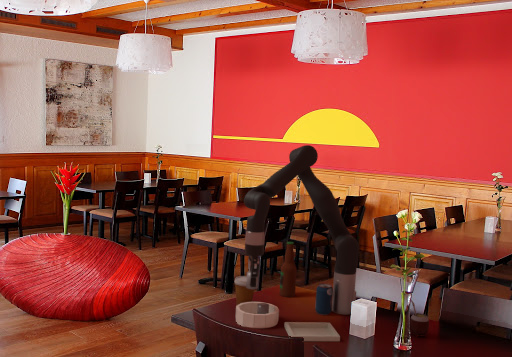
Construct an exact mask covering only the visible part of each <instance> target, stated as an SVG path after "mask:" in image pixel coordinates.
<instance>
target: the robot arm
mask: <svg viewBox="0 0 512 357" xmlns="http://www.w3.org/2000/svg"><path fill="white" fill-rule="evenodd" d="M318 158H319V154H318V151H317V149H316V148H315V147H314V146H312V145H310V144H307V145H305V144H304V145H302V146H300V147H297V148H294V149H292V150H291V151H290V153H289V155H288V159H289V162H288V163H287V164H286V165H285V166H283V167H281V168H280V169H279V170H277V171H275V172H273V174H271V175H270V176H269V177H268V178H267V179H266V180H265V181H264V182H263V183H261V184H259V185H256V186H255V187H252V189H250V190H249V191H248V192H247V193H246V194H245V196H244V199H243V203H244V206H245V207H246V208H248V209H249V210H253V211H255V212H254V214H253V215H250V216H248V217H247V218H246V232H245V238H244V254H245V255H246V256H248V257H247V258H248V260H247V262H248V264H247V266H248V267H247V270H248V271H247V272H249V271H250V272H251V275H250V277H251V280H250V286H251V287H256V278H257V277H258V278H259V275H258V273H259V267H260V259H259V258H258V257H261V256H263V255H264V253H265V224H266V219H267V217H268V213H269V210H270V205H271V198H274V197H276V196H277V195H278V194H279V193H280V192H281V191H282V190H284V188H285V187H286V186H288V185H289V183H291V182H292V181H293V180H294V179H295V178H296V177H298V178H299V180H300V181H301V183H302V185H303V186H304V188H305V190H306V192H307V194H308V196H309V198H310V200H311V202H312V205H313V206H314V208H315V210H316V212H317V214H318V216H319V217H320V218H321V219H320V220H322V222H323V223H324V225H325V226H326V228H327V230H328V232H329V234H330V236H331V239H332V242H333V244H334V248H335V250H336V259H335V260H336V261H335V264H334V269H333V270H334V271H333V273H334V274H333V285H332V286H333V287H332V289H333V296H332V311H331V312H332V313H335V314H337V315H346V316H347V315H351V314H350V312H351V302H352V301H355V300H356V301H357V291H356V279H357V269H358V267H359V266H358V265H359V253H360V245H359V241H358V240H357V239H356V238H355V237H354V236H353V235H352V233H351V232H350V231H349V229H348V227H347V226H346V224H345V221H344V219H343V217H342V213H341V210H340V207H339V204H338V202H337V200H336V198H335V195H334V194H333V192H332V191H331V189H330V188H329V187H328V186H327V185H326V184H325V183H323V182H322V181H321V180H320V179H319V178H318V177H317V176H316V175H315V173H314V172H313V170H312V166H314V165H315V164H316V163H317V161H318ZM253 272H256V274H253Z"/></svg>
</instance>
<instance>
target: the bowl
mask: <svg viewBox="0 0 512 357" xmlns="http://www.w3.org/2000/svg"><path fill="white" fill-rule="evenodd" d="M258 303H264V302H262V301H252V302H245V303H240V304H239V305H237V304H236V306H235V323H236V322H237V323H236V324H237V325H238V326H240V325H241V327H243V328H252V329H268V328H272V327H275V326H276V325H277V324H278V322H279V316H280V314H279V313H280V309H279V308H278V306H276V305H274V304H272V303H267V302H266V303H267V304H269V313H268V314H257V305H258Z"/></svg>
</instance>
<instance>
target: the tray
mask: <svg viewBox="0 0 512 357" xmlns="http://www.w3.org/2000/svg"><path fill="white" fill-rule="evenodd" d="M283 324H284V329H285V331H286V333H287V335H288V337H289V336H291V337H303V338H304V341H303V342H341V336H340V334H339V333H338V332H337V330H336V329H335V327H334V326H333V325H332V324H331V322H322V321H321V322H320V321H319V322H317V321H316V322H310V321H309V322H307V321H306V322H302V321H295V322H293V321H291V322H290V321H285V322H284V323H283Z"/></svg>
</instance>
